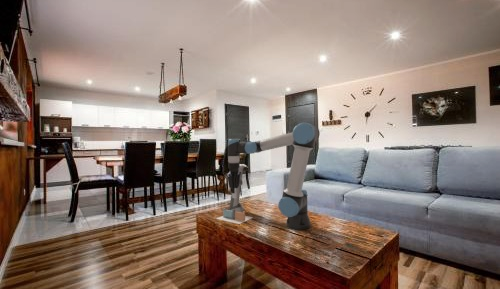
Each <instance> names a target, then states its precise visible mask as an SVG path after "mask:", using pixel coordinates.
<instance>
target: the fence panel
mask: <svg viewBox="0 0 500 289" xmlns="http://www.w3.org/2000/svg"><path fill="white" fill-rule="evenodd" d="M245 216H246V211H245V210H244V211H243V212H237V211H236V212H235V219H238V220H242V221H245ZM245 222H246V221H245Z"/></svg>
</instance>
